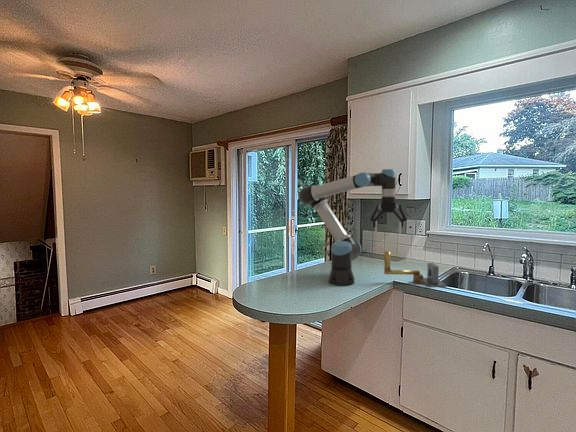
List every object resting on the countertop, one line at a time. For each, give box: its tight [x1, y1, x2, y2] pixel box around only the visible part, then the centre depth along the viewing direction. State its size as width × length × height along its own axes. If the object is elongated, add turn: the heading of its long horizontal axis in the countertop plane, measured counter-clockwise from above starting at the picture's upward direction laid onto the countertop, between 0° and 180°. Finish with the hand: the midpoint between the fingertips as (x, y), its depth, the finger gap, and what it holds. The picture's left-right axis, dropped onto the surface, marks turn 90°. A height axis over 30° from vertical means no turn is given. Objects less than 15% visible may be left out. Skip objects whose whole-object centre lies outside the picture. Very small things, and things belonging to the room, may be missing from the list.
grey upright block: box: [423, 262, 447, 288], centre depth 182 cm, size 10×14×10 cm
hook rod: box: [383, 250, 421, 275], centre depth 183 cm, size 20×3×13 cm, turn 85°
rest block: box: [412, 273, 424, 285], centre depth 183 cm, size 4×5×5 cm
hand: (387, 232), depth 183 cm, fingers open, 13 cm apart
